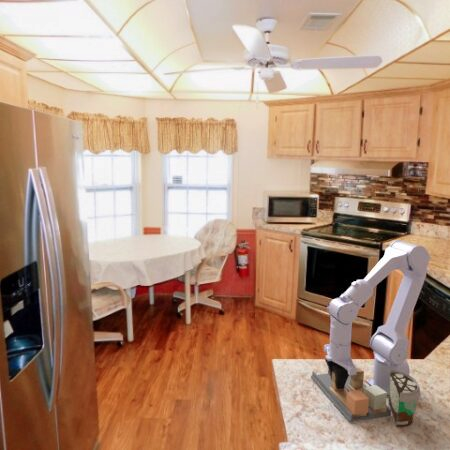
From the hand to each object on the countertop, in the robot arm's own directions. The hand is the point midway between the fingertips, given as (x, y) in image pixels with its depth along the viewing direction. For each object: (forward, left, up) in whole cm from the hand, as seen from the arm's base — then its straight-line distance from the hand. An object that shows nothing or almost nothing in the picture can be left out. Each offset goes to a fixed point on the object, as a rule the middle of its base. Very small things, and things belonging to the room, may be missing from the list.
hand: (337, 385), depth 110 cm
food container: (-12, +13, -3) cm, 18 cm away
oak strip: (0, +5, -3) cm, 6 cm away
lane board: (-3, +1, -3) cm, 4 cm away
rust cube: (0, +10, -1) cm, 10 cm away
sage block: (-6, +9, -1) cm, 11 cm away
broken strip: (-6, +5, -3) cm, 8 cm away
